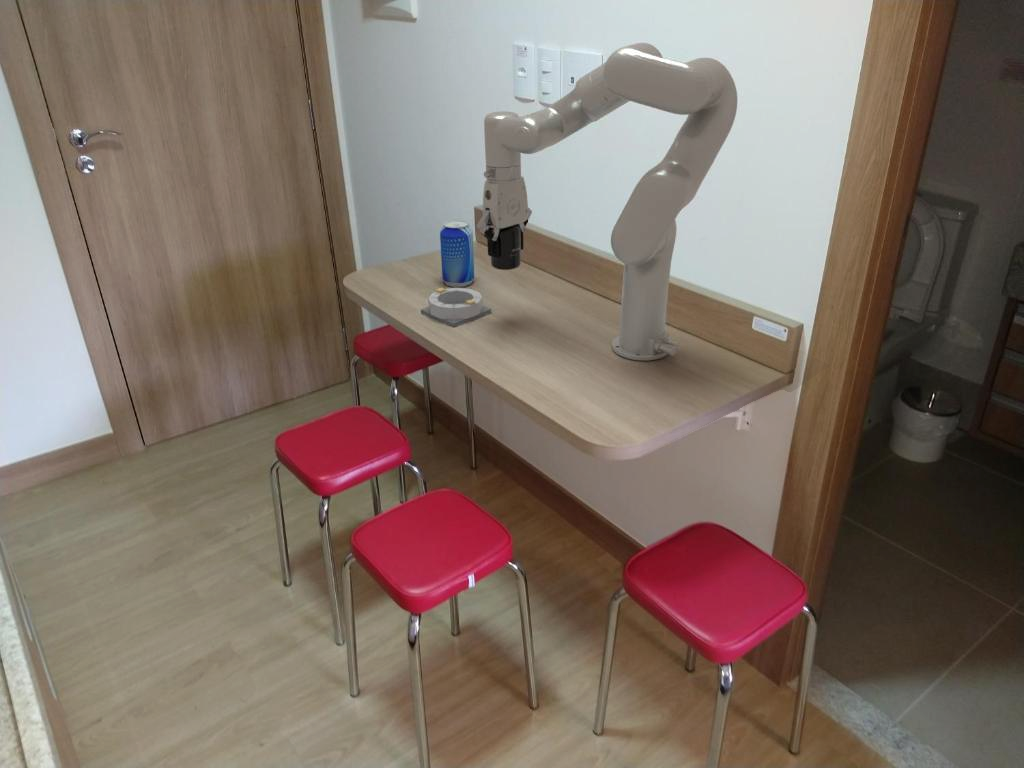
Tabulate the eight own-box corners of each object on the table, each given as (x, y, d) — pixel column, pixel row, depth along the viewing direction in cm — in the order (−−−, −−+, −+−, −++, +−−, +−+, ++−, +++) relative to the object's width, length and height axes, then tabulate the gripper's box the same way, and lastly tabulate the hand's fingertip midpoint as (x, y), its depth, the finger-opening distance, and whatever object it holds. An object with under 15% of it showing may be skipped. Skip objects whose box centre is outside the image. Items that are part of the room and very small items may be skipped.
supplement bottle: (521, 270, 177) (519, 217, 172) (490, 271, 177) (488, 218, 172) (521, 260, 183) (520, 209, 178) (491, 260, 183) (489, 209, 178)
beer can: (437, 286, 207) (434, 226, 200) (449, 275, 214) (446, 217, 207) (468, 289, 205) (465, 229, 197) (478, 278, 212) (477, 219, 204)
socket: (492, 312, 191) (492, 294, 189) (453, 328, 184) (452, 309, 181) (458, 299, 199) (457, 281, 197) (419, 313, 192) (418, 295, 189)
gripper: (485, 182, 163) (489, 265, 171) (543, 168, 173) (544, 246, 182) (461, 177, 168) (466, 258, 176) (519, 163, 178) (521, 240, 187)
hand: (505, 251), depth 179 cm, fingers closed on supplement bottle, 6 cm apart
